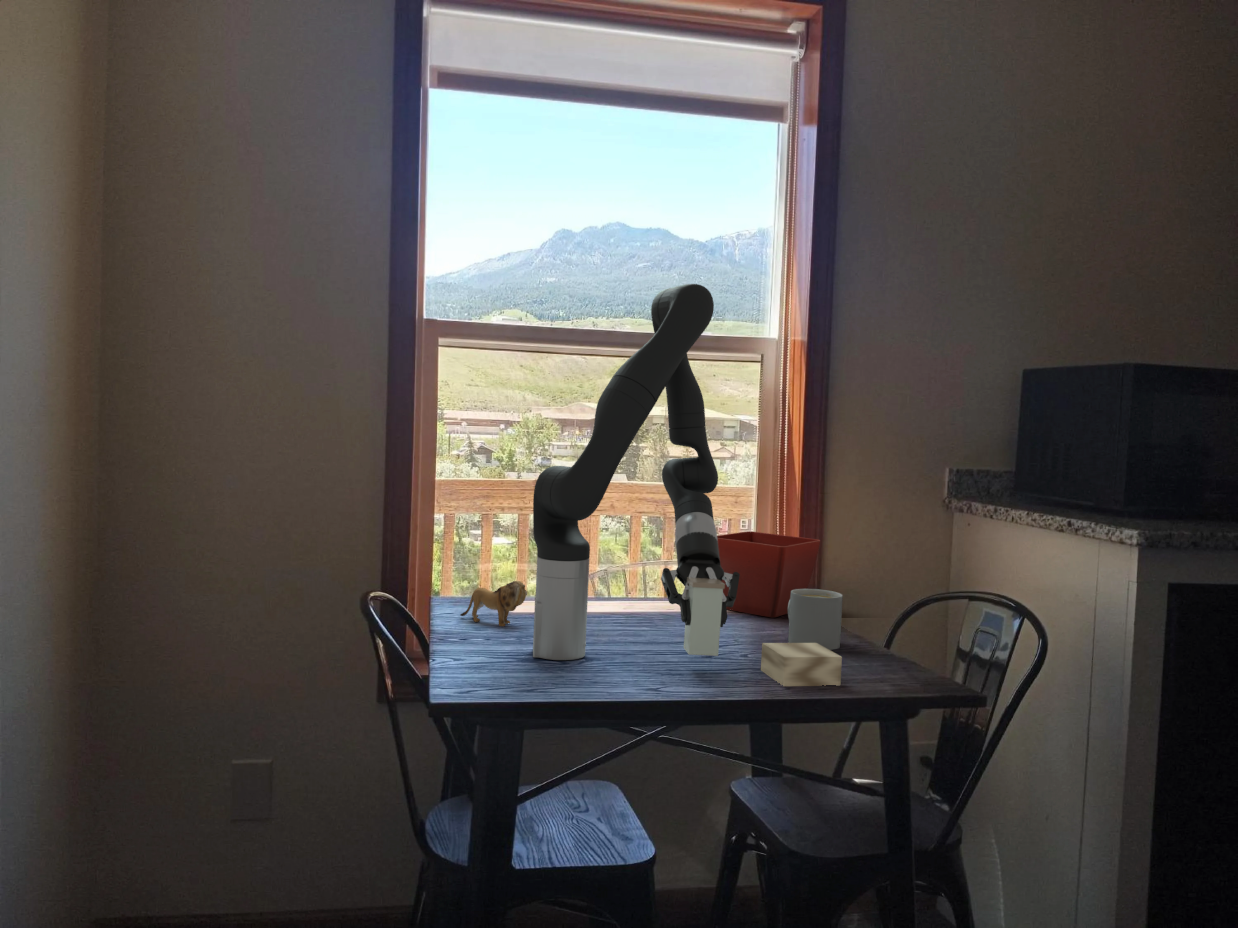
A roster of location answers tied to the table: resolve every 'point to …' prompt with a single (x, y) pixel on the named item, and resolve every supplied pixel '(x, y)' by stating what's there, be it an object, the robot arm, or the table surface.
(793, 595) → the coffee mug
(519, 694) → the table surface
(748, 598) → the plant pot
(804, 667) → the maple block
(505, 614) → the lion figurine
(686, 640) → the sage canister
